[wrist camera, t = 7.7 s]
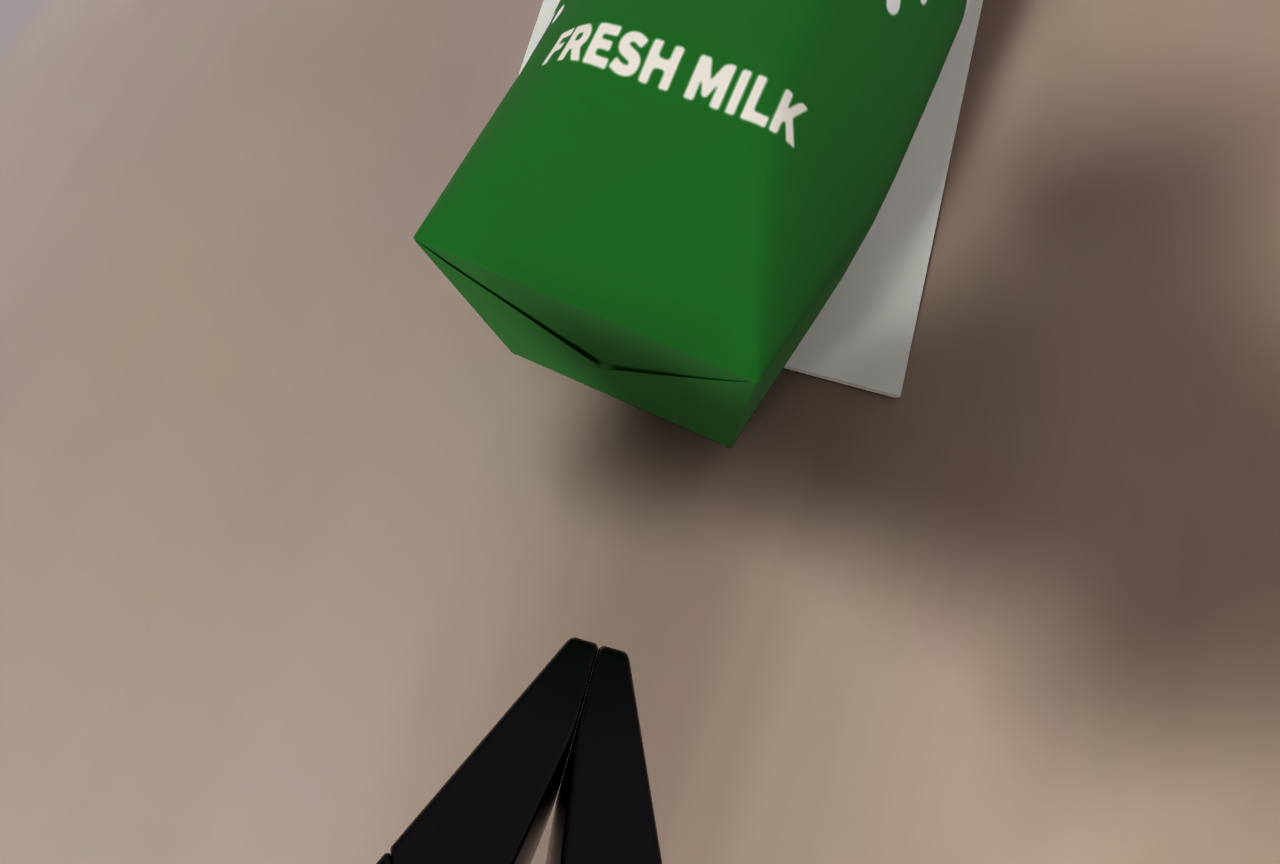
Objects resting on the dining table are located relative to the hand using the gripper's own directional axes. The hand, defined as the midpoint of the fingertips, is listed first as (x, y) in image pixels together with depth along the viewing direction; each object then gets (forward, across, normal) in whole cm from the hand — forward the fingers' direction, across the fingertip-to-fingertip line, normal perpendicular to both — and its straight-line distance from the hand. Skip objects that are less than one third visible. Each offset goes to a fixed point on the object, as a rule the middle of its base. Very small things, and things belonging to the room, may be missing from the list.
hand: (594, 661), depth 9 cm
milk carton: (+7, +2, 0) cm, 7 cm away
